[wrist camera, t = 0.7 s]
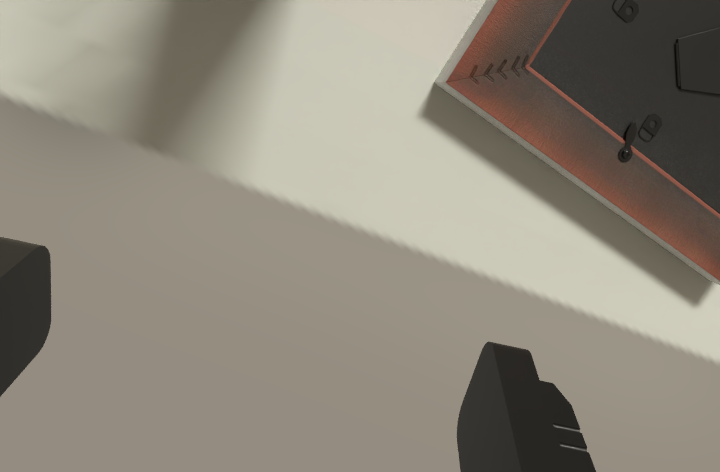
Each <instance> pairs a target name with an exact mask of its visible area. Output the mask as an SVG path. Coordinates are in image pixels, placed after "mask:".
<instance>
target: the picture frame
mask: <svg viewBox="0 0 720 472" xmlns="http://www.w3.org/2000/svg"><path fill="white" fill-rule="evenodd" d="M434 83H435V84H436V85H438V86H439V87H441V88H442V89H443V90H445V91H446V92H448V93H449V94H450V95H452V96H453V97H454V98H456V99H457V100H459V101H460V102H461V103H463V104H464V105H466V106H467V107H468V108H470V109H471V110H473V111H474V112H475V113H477V114H478V115H480V116H481V117H482V118H484V119H485V120H487V121H488V122H489V123H491V124H492V125H493V126H495V127H496V128H498V129H499V130H500V131H502V132H503V133H505V134H506V135H507V136H509V137H510V138H512V139H513V140H514V141H516V142H517V143H519V144H520V145H521V146H523V147H524V148H526V149H527V150H528V151H530V152H531V153H532V154H534V155H535V156H537V157H538V158H539V159H541V160H542V161H544V162H545V163H546V164H548V165H549V166H551V167H552V168H553V169H555V170H556V171H558V172H559V173H560V174H562V175H563V176H565V177H566V178H567V179H569V180H570V181H571V182H573V183H574V184H576V185H577V186H578V187H580V188H581V189H583V190H584V191H585V192H587V193H588V194H590V195H591V196H592V197H594V198H595V199H597V200H598V201H599V202H601V203H602V204H604V205H605V206H606V207H608V208H609V209H611V210H612V211H613V212H615V213H616V214H617V215H619V216H620V217H622V218H623V219H624V220H626V221H627V222H629V223H630V224H631V225H633V226H634V227H636V228H637V229H638V230H640V231H641V232H643V233H644V234H645V235H647V236H648V237H650V238H651V239H652V240H654V241H655V242H656V243H658V244H659V245H661V246H662V247H663V248H665V249H666V250H668V251H669V252H670V253H672V254H673V255H675V256H676V257H677V258H679V259H680V260H682V261H683V262H684V263H686V264H687V265H689V266H690V267H691V268H693V269H694V270H695V271H697V272H698V273H700V274H701V275H702V276H704V277H705V278H707V279H708V280H709V281H712V282H714V283H717V284H719V285H720V0H486V2H485V3H484V5H483V6H482V8H481V10H480V11H479V13H478V14H477V16H476V17H475V19H474V21H473V22H472V24H471V25H470V27H469V28H468V30H467V32H466V33H465V35H464V36H463V38H462V39H461V41H460V43H459V44H458V46H457V47H456V49H455V50H454V52H453V54H452V55H451V57H450V58H449V60H448V61H447V63H446V65H445V66H444V68H443V69H442V71H441V72H440V74H439V76H438V77H437V79H436V80H435V82H434Z"/></svg>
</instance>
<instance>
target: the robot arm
mask: <svg viewBox="0 0 720 472" xmlns="http://www.w3.org/2000/svg"><path fill="white" fill-rule="evenodd" d="M50 271H51V270H50V254H49V251H48V249H47V248H46V247H45V246H41V245H37V244H31V243H27V242H22V241H18V240H13V239H8V238H4V237H0V396H1V395H2V394H3V393H4V392H5V391H6V389H7V388H8V387H9V386H10V385H11V384H12V383H13V381H14V380H15V379H16V378H17V377H18V375H20V373H21V372H22V371H23V370H24V369H25V368H26V367H27V365H28V364H29V363H30V362H31V361H32V359H33V358H34V357H35V356H36V355H37V354H38V353H39V351H40V350H41V348H42V347H43V345H44V343H45V340H46V338H47V336H48V333H49V329H50V324H51V272H50ZM579 430H580V428H579V424H578V422H577V419H576V416H575V414H574V411H573V408H572V406H571V404H570V403H569V402H568V401H567V399H565V397H564V396H563V395H562V393H561V392H560V391H559V390H558V389H557V388H556V386H555V385H554V384H553V383H549V382H544V381H540V380H539V377H538V374H537V371H536V368H535V365H534V362H533V359H532V355H531V353H530V352H529V351H528V350H526V349H521V348H516V347H512V346H507V345H502V344H497V343H493V342H487V343H486V344H485V346H484V347H483V349H482V352H481V354H480V357H479V360H478V362H477V365H476V368H475V370H474V373H473V376H472V379H471V381H470V384H469V387H468V389H467V392H466V395H465V397H464V400H463V403H462V406H461V410H460V414H459V418H458V426H457V444H458V452H459V461H460V469H461V472H596V470H595V468H594V465H593V462H592V460H591V457H590V454H589V453H588V452H587V451H586V450H587V446H586V444H585V441H584V438H583V435H582V433H580V432H579Z"/></svg>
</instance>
